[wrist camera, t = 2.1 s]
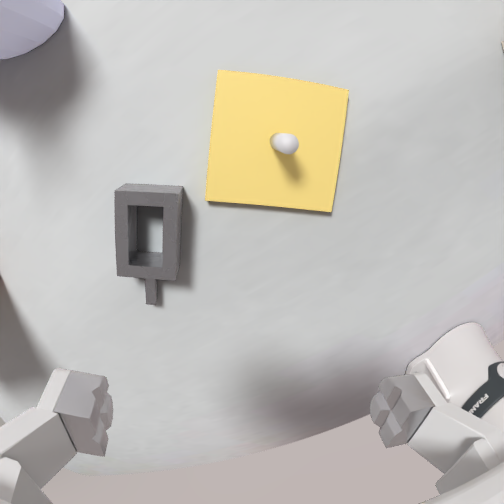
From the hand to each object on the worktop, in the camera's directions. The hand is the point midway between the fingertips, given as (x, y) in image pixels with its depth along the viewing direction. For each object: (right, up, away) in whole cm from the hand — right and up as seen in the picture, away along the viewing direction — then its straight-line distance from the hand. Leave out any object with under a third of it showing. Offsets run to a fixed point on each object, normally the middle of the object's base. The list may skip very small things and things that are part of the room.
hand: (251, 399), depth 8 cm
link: (-10, +5, +23) cm, 25 cm away
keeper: (+2, +14, +20) cm, 25 cm away
